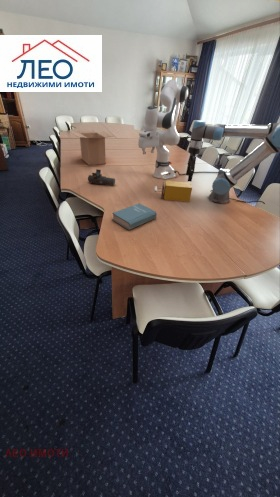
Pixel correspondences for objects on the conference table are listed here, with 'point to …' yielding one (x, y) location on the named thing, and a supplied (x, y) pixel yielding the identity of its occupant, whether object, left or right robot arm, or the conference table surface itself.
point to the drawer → (160, 191)
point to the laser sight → (100, 179)
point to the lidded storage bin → (177, 191)
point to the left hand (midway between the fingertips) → (148, 153)
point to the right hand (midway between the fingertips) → (188, 178)
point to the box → (92, 146)
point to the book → (134, 216)
